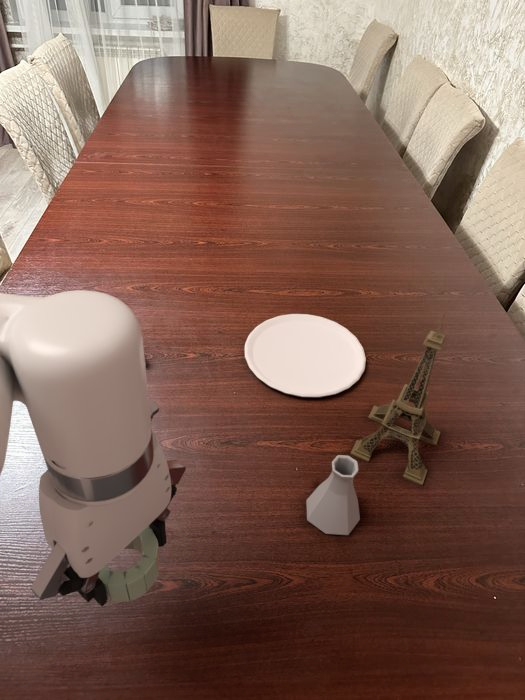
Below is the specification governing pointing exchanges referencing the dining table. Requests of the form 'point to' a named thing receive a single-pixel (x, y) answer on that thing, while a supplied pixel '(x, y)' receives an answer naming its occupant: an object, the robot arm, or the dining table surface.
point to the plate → (305, 355)
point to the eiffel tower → (407, 415)
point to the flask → (336, 499)
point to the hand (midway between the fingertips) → (124, 563)
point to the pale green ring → (134, 570)
